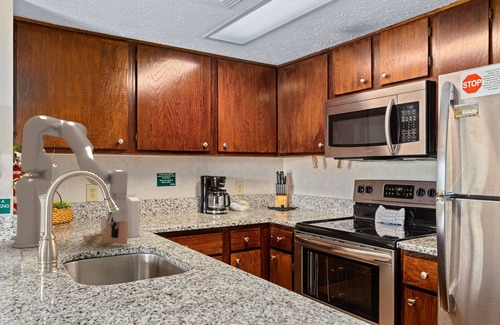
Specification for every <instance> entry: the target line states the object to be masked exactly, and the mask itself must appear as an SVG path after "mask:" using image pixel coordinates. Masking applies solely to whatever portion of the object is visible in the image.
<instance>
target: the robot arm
mask: <svg viewBox="0 0 500 325" xmlns="http://www.w3.org/2000/svg"><path fill="white" fill-rule="evenodd" d="M44 135H46V136H51V137H56V138H61V139H63V140H64V141H65V142H66V143H67V145H68V146H69V148H70V149H71V151H72V152H73V153H74V155H75V157H76V161H77V165H78V166H79V169H80V171H81V172H82V171H88V172H91V173H94V174H95V175H97V176H98V177H100V178H101V179H102V180H103V181H104V183H105V184H106V186H107V185H109V193H110V195H111V197H112V199H113V200H114V202H115V203H116V205H117V206H118V208H119V211H116V212H113V213H112V212H109V210H108V209H107V216H106V217H107V220H108V225H110V226H111V237H112V238H118V229H117V228H118V222H122V221H126V220H127V219H128V204H127V198H128V176H129V174H128V171H127V170H125V169H109V168H101V167H100V166H99V164H98V162H96V160H95V158H94V155H93V151H94V146H93V144H92V143H91V141H90V140H89V139H88V137H87V136H88V130H87V127H86V126H85V125H83V124H82V123H79V122H76V121H69V120H64V119H60V118H59V119H58V118H56V117H52V116H48V115H42V114H41V115H35V116H33V117H30V118H28V120H27V121H26V122H25V123H24V126H23V129H22V144H21V145H22V147H21V153H20V154H21V156H20V169H21V170H22V172H23V171H24V172H25V173H29V174H31V175H28V176H22V177H20V178H18V180H17V181H16V182H15V188H14V191H15V197H16V235H12V237H10V241H14V243H12V248H16V249H27V248H35V247H39V246H38V244H39V241H41V236H42V235H41V233H42V232H41V230H42V229H41V228H42V227H41V226H42V223H41V222H42V218H41V217H42V204H41V200H40V197H41V196H45V195H47V194H48V193H47V191H48V189H49V187H50V186H51V187H52V183H53V182H52V181H53V179H52V178H53V168H54V164H53V160H52V158H51V157H50V155H48V154H46V153H44V147H45V146H44V139H43V136H44ZM85 178H86V180H87V181H88V182H89V183H90V184H92V185H94V186H98V185H97V184H96V183H95V182H94V181H93V180H91V179H89V178H87V177H85ZM113 221H115V222H113ZM114 223H115V224H114Z"/></svg>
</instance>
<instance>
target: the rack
mask: <svg viewBox="0 0 500 325" xmlns="http://www.w3.org/2000/svg"><path fill="white" fill-rule="evenodd" d="M100 219H101V221H100V222H101V223H100V228H101V229H100V231H99V232H94V233H92V234H91V233H89V234H88V235H83V241H82V242H80V246H87V247H88V246H89V247H91V246H92V247H107V246H109V245H112V244H114V243H105V233H106V220H107V216H102V217H100Z"/></svg>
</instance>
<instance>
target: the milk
mask: <svg viewBox="0 0 500 325" xmlns="http://www.w3.org/2000/svg"><path fill="white" fill-rule="evenodd" d="M127 204H128V219H127V220H126V221H128V236H127V239H128V238H130V239H133V238H137V236H138V237H140V229H141V228H140V225H141V224H140V218H141V212H140V211H141V200H140V199H139V198H138V197H137V194H136V193H135V194H134V193H132V194H127Z"/></svg>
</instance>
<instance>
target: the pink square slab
mask: <svg viewBox="0 0 500 325" xmlns="http://www.w3.org/2000/svg"><path fill="white" fill-rule="evenodd" d="M113 222H115V221H113ZM114 224H115V223H114ZM117 229H118V238H112V237H111V226H110V225H108V220H106V233H105V243H113V244H116V245H117V244H118V245H127V244H128V237H127V236H128V221H122V222H118V228H117Z"/></svg>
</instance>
